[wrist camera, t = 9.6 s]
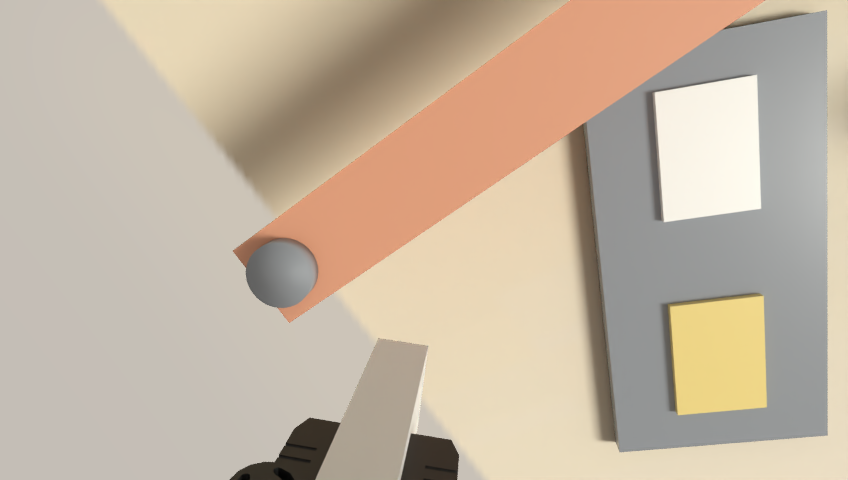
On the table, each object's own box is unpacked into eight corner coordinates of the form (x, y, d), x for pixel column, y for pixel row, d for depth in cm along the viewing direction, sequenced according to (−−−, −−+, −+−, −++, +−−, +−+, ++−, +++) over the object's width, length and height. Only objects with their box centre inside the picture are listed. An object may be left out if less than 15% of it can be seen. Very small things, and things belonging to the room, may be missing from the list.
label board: (576, 58, 29) (581, 55, 28) (814, 13, 27) (831, 9, 26) (616, 442, 34) (621, 456, 33) (817, 425, 33) (831, 439, 31)
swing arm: (702, -85, 25) (825, -192, 16) (743, -12, 26) (885, -77, 17) (298, 213, 31) (221, 257, 22) (339, 267, 32) (281, 332, 23)
